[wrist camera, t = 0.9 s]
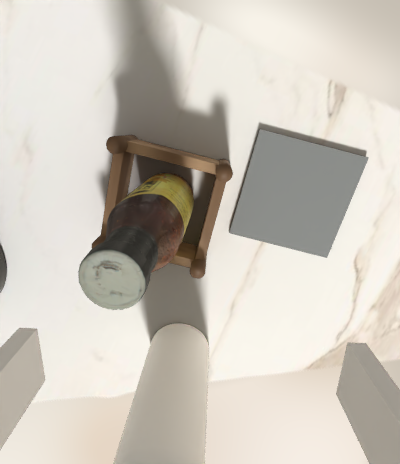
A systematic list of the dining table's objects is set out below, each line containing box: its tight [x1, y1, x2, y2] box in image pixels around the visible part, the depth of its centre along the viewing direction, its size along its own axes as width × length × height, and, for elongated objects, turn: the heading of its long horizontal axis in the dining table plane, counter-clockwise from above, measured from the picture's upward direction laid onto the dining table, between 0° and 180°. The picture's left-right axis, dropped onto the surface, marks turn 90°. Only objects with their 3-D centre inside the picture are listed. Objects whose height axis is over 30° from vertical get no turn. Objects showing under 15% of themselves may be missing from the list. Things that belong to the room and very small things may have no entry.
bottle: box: [113, 323, 209, 464], centre depth 29 cm, size 8×8×30 cm
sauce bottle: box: [79, 173, 194, 310], centre depth 27 cm, size 7×6×20 cm
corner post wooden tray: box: [92, 135, 233, 278], centre depth 33 cm, size 12×12×6 cm
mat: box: [229, 129, 368, 258], centre depth 35 cm, size 12×12×1 cm
